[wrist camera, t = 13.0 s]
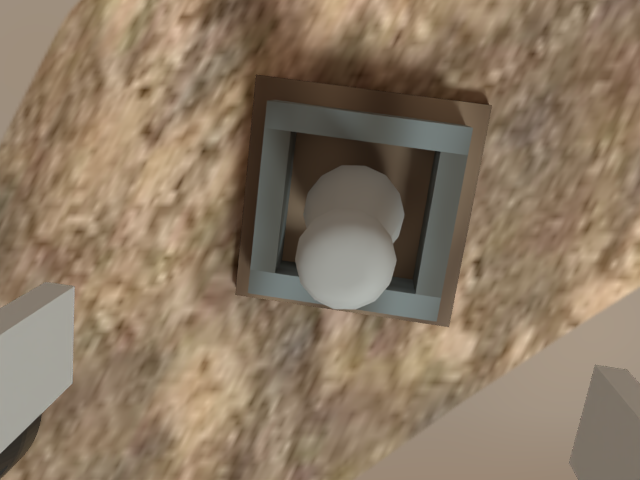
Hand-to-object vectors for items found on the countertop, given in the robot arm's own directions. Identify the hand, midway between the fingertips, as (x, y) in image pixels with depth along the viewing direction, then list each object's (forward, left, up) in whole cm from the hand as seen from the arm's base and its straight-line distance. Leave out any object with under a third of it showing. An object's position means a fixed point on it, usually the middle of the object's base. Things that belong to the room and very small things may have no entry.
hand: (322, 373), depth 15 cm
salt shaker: (0, 0, -23) cm, 23 cm away
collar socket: (0, 0, -23) cm, 23 cm away
